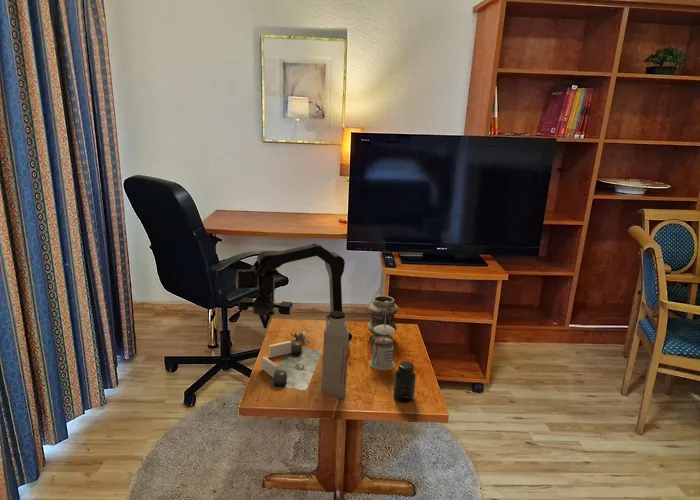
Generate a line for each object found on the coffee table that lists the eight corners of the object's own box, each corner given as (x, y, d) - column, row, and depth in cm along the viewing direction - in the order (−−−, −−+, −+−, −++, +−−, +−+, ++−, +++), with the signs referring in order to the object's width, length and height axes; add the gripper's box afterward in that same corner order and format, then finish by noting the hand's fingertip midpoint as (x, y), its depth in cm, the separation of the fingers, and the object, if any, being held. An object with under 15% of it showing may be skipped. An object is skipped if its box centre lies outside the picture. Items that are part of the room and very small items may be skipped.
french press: (400, 364, 181) (405, 301, 174) (380, 374, 172) (385, 309, 166) (379, 355, 187) (384, 294, 181) (360, 364, 179) (364, 301, 172)
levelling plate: (322, 354, 185) (322, 349, 184) (306, 394, 157) (306, 388, 157) (289, 350, 186) (289, 345, 186) (267, 389, 158) (267, 384, 158)
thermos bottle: (350, 391, 160) (354, 312, 153) (336, 402, 154) (341, 320, 147) (330, 383, 164) (334, 306, 157) (316, 393, 158) (319, 314, 151)
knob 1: (298, 347, 186) (299, 336, 185) (304, 352, 182) (304, 341, 181) (267, 354, 178) (267, 343, 177) (272, 359, 175) (272, 348, 174)
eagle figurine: (285, 342, 191) (295, 347, 183) (293, 325, 192) (303, 330, 185) (300, 349, 195) (310, 354, 187) (308, 333, 196) (318, 337, 188)
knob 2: (289, 382, 160) (289, 370, 159) (278, 386, 158) (278, 374, 156) (268, 366, 170) (268, 355, 169) (257, 369, 167) (257, 358, 166)
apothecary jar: (376, 330, 209) (379, 291, 205) (400, 339, 202) (404, 298, 198) (361, 339, 200) (363, 298, 195) (385, 348, 193) (389, 306, 188)
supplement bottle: (391, 391, 162) (394, 359, 158) (411, 391, 162) (414, 359, 159) (394, 403, 155) (398, 369, 152) (415, 403, 156) (419, 369, 153)
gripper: (232, 292, 164) (232, 334, 167) (286, 297, 162) (285, 340, 165) (243, 282, 174) (243, 322, 178) (294, 287, 172) (292, 327, 176)
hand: (265, 328), depth 174 cm, fingers closed
